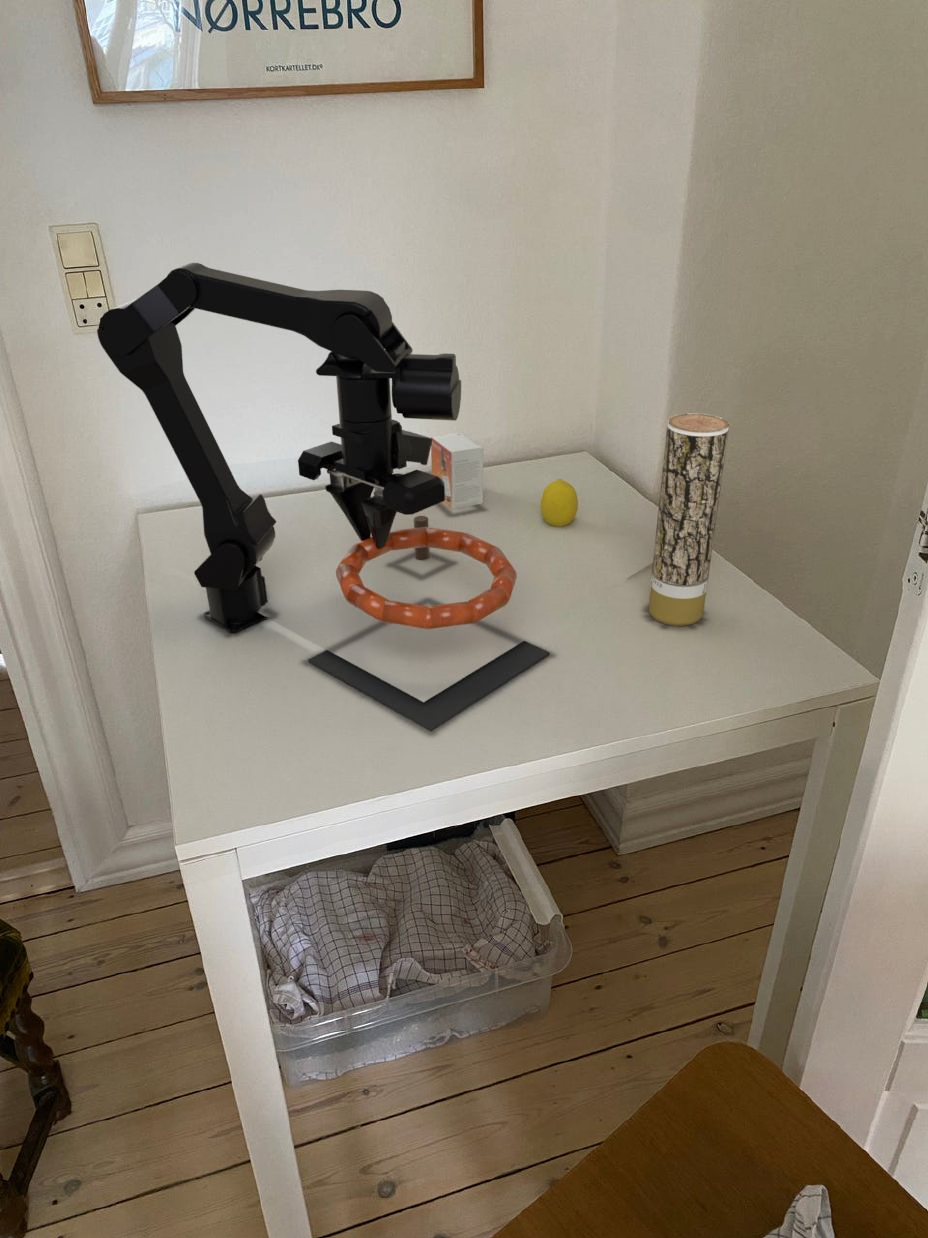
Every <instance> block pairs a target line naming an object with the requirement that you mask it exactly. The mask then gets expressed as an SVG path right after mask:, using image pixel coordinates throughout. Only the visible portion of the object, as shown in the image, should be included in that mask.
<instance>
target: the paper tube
mask: <svg viewBox="0 0 928 1238" xmlns="http://www.w3.org/2000/svg"><path fill="white" fill-rule="evenodd" d="M729 426H730V422H729V421H728V420H727V419H725V418H723V417H720V416H717V415H714V414H708V413H699V412H698V413H697V412H693V413H692V412H690V413H679V414H675V415H672V416H670V417H668V419H667V424H666V432H665V441H664V452H663V461H662V462H663V463H662V471H661V472H662V473H661V479H660V490H659V499H658V501H659V502H658V510H657V511H658V512H657V519H656V520H657V521H656V529H655V530H656V531H655V537H654V538H655V540H654V549H653V557H652V567H651V568H652V569H651V579H650V591H649V598H648V599H649V600H648V612H649V614H650V615H651V617H652V618H653V619H654V620H656V621H658V622H659V623H662V624H664V625H668V626H672V627H686V626H690V625H693V624H696V623H697V622H699V621H700V620H701V619H702V618H703V615H704V610H705V603H706V595H707V590H708V582H709V575H710V568H711V563H712V554H713V547H714V539H715V531H716V525H717V518H718V512H719V511H718V510H719V503H720V496H721V488H722V481H723V473H724V468H725V467H724V466H725V459H726V452H727V445H728V439H729V431H730V427H729Z"/></svg>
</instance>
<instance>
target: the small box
mask: <svg viewBox="0 0 928 1238" xmlns="http://www.w3.org/2000/svg"><path fill="white" fill-rule="evenodd" d="M430 438H432V444H431V449H430V461H431V463H430V465H431V466H430V467H431V474H432V475H435V476H438V477H439V478H440V479H441V480H442V481H444V484H445V501H443V503H444V504H445V505H446V506H447V507H448V508H450V509H451V510H456V509H462V508H466V507H471V506H477V505H481V504H483V503H484V451H485V450H484V449H485V448H484V446H482V445H480V444H478V443H477V442H476V441H474V440H473V439H471V438H470V437H468V435H466V434H465V433H463V432H462V431H461V432H454V433H449V434H441V435H436V436H435V435H434V436H431V437H430Z"/></svg>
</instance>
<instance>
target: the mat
mask: <svg viewBox="0 0 928 1238" xmlns="http://www.w3.org/2000/svg"><path fill="white" fill-rule="evenodd" d="M549 656H550V651H548V650H546V649H543V648H542V647H539V646H537V645H534V644H533V643H530V642H528V641H526V640H523V641H521V642H520V643H518V644H517V645H515V646H513V647H511V648H510V649H508V650H507V651H504V652H503V653H502V654H500V655H498V656H497V657H495V658H493V659H492V660H490V661H489V662H487V663H485V664H484V665H482V666H480V667H479V668H477V669H475V670H474V671H472V672H470V673H469V674H467V675H466V676H464V677H462V678H461V679H459V680H458V681H456V682H454V683H452V684H450V685H449V686H447V687H446V688H445V689H443V690H441V691H439V692H438V693H436V694H435V695H433V696H431V697H430V698H428V699H426V700H425V701H422V700H421V699H419V698H418V697H415V696H414V695H411V694H410V693H407V692H406V691H404V690H402V689H400V688H398V687H397V686H395V685H393V684H391V683H390V682H387V681H385V680H384V679H382V678H381V677H378V676H376V675H374V674H373V673H371V672H369V671H367V670H365V669H364V668H361V667H360V666H358V665H355V664H354V663H353V662H350V661H348V660H347V659H344V658H343V657H341V656H339V655H337V654H336V653H334V652H332V651H330V650H328V649H326V650H324V651H322V652H320V653H318V654H316V655H314V656H312V657H310V658H309V659H308V661H307V662H308V663H309V664H311V665H313V666H314V667H316V668H318V669H320V670H321V671H323V672H325V673H327V674H328V675H330V676H332V677H334V678H336V679H337V680H339V681H341V682H342V683H345V684H346V685H348V686H350V687H351V688H353V689H355V690H357V691H358V692H361V693H363V694H364V695H366V696H367V697H369V698H371V699H373V700H374V701H377V702H378V703H380V704H381V705H383V706H385V707H387V708H389V709H390V710H393V711H394V712H396V713H398V714H399V715H401V716H403V717H405V718H407V719H408V720H410V721H412V722H413V723H416V724H417V725H419V726H420V727H423V728H425V729H426V730H427V731H430V732H433V731H434V730H435V729H437V728H439V727H440V726H442V725H443V724H444V723H446V722H448V721H450V720H451V719H453V718H454V717H455V716H457V715H459V714H460V713H462V712H463V711H465V710H466V709H467V708H470V707H471V706H473V705H474V704H476V703H477V702H479V701H480V700H482V699H484V698H485V697H487V696H488V695H490V694H491V693H493V692H494V691H496V690H497V689H499V688H500V687H502V686H504V685H505V684H506V683H508V682H510V681H512V680H513V679H514V678H516V677H518V676H519V675H521V674H522V673H524V672H526V671H527V670H528V669H530V668H531V667H533V666H535V665H536V664H538V663H539V662H541V661H543V660H544V659H546V658H547V657H549Z"/></svg>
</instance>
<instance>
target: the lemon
mask: <svg viewBox="0 0 928 1238" xmlns="http://www.w3.org/2000/svg"><path fill="white" fill-rule="evenodd" d="M578 501H579V499H578V494H577V492H576V489H575V487H574V486H573V485H572V484H570V482H568V481H565V480H563V479H562V478H558V479H557V480H555V481H552V482H550V483H549V484H548V485H547V486H546V487H545V488H544V490H543V492H542V494H541V499H540V512H541V516H542V518H543V520H544V521H545V522H546V523H547V524H548V525H550V526H552V527H558V528H562V527H566V526H568V525H570V524H571V523H572V522H573V521H574V519H575V518H576V516H577V513H578V509H579V508H578V507H579V502H578Z"/></svg>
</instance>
